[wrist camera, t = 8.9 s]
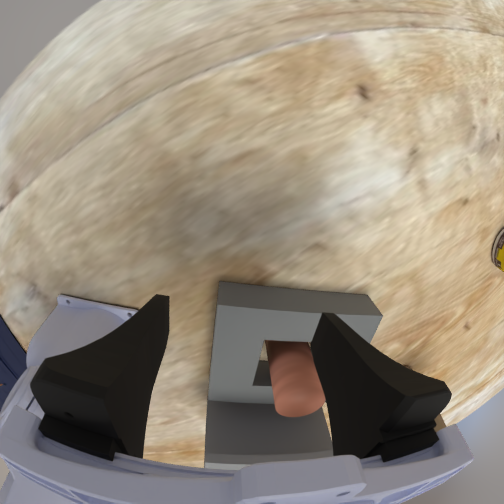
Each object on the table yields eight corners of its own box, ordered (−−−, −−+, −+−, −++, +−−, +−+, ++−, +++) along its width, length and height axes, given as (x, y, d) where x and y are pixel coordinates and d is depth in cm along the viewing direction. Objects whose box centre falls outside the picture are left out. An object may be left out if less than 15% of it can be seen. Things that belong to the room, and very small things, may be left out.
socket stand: (207, 400, 30) (203, 480, 20) (219, 281, 23) (212, 383, 13) (317, 403, 31) (336, 474, 21) (367, 295, 25) (423, 376, 15)
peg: (262, 353, 27) (271, 418, 20) (268, 323, 25) (280, 390, 18) (300, 353, 27) (317, 415, 20) (309, 324, 26) (332, 387, 18)
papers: (-55, 335, 24) (-63, 345, 21) (1, 292, 25) (-12, 305, 22) (13, 419, 34) (9, 430, 30) (96, 410, 35) (92, 426, 31)
